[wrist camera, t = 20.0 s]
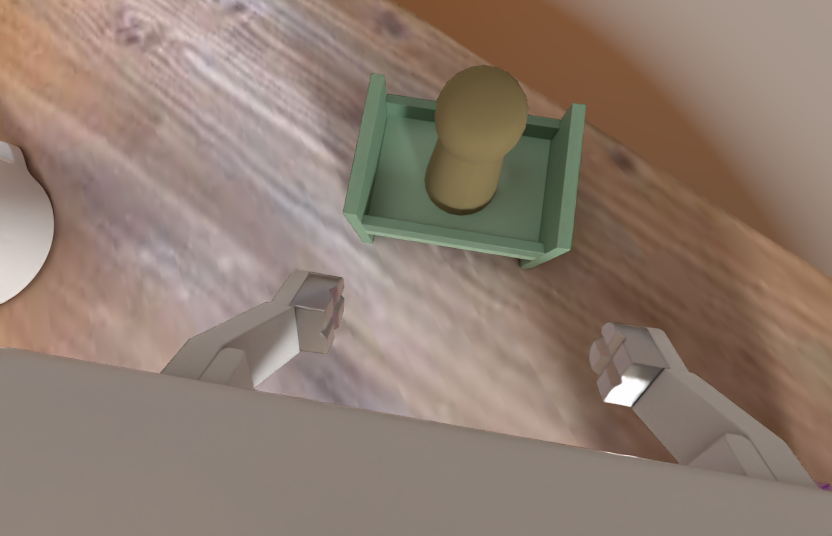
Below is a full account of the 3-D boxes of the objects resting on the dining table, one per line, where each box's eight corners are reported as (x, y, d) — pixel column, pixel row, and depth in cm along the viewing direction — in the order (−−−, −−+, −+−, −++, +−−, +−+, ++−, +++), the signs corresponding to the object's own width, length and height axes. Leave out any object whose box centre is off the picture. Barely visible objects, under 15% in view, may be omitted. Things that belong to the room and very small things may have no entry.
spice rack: (362, 241, 34) (342, 213, 25) (383, 135, 35) (371, 72, 26) (530, 269, 33) (571, 250, 24) (543, 160, 35) (586, 104, 26)
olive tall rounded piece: (438, 136, 30) (449, 30, 19) (507, 159, 30) (558, 64, 19) (414, 201, 29) (411, 129, 18) (484, 225, 29) (524, 166, 18)
